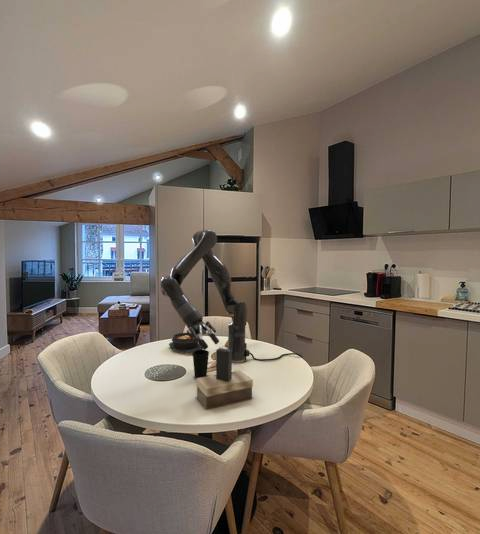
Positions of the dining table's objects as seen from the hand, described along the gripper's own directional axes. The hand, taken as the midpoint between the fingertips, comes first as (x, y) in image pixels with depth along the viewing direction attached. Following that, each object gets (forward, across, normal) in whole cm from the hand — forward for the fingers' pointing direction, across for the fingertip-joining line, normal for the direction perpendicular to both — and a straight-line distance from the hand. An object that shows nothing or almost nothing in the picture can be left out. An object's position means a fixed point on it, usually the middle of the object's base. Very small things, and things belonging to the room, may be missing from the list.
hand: (212, 345), depth 129 cm
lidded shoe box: (+19, 0, +10) cm, 22 cm away
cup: (+5, +13, +25) cm, 28 cm away
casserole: (-18, +43, +47) cm, 66 cm away
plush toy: (-1, +64, +30) cm, 71 cm away
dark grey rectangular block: (+13, 0, +5) cm, 14 cm away
